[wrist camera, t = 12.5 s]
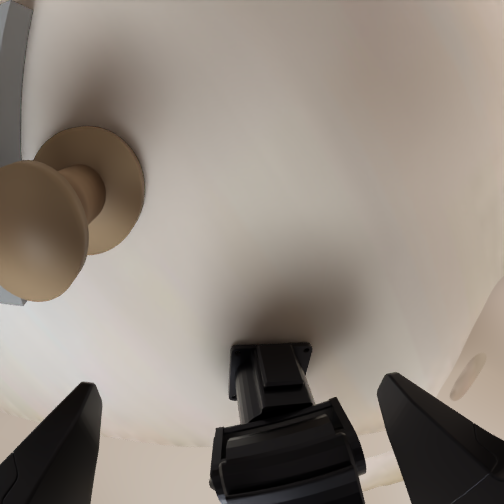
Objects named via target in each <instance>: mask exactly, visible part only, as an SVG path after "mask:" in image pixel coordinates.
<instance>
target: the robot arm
mask: <svg viewBox="0 0 504 504" xmlns="http://www.w3.org/2000/svg"><path fill="white" fill-rule="evenodd" d="M305 348H307V349H305ZM236 351H239V352H236ZM311 353H312V346H311V344H310V343H288V344H265V345H235V346H233V347H232V348H231V353H230V373H229V399H230V400H233V401H238V409H239V417H240V425H235V426H231V427H225V428H224V427H219V428H216V433H215V437H214V442H213V451H212V461H211V471H210V480H209V485H210V487H211V488H212V489H213V490H215V491H216V494H217V496H218V498H219V500H220V502H221V504H365V501H364V497H363V493H362V489H361V485H360V481H359V477H358V476H360V475H362V474H365V473H366V463H365V458H364V454H363V451H362V447H361V444H360V442H359V439H358V437H357V434H356V432H355V430H354V428H353V426H352V425H351V423H350V421H349V419H348V417H347V415H346V414H345V412H344V410H343V408H342V406H341V405H340V403H339V401H338V399H337V397H334V398H331V399H329V401H326V402H323V403H320V404H317V405H315V402H314V399H313V396H312V394H311V391H310V388H309V385H308V382H307V379H306V377H305V375H306V371H307V368H308V364H309V360H310V357H311ZM234 395H235V396H234ZM377 397H378V401H379V405H380V408H381V412H382V416H383V420H384V424H385V428H386V431H387V435H388V437H389V440H390V443H391V446H392V448H393V451H394V454H395V457H396V459H397V462H398V465H399V468H400V471H401V474H402V476H403V479H404V482H405V485H406V488H407V491H408V494H409V497H410V500H411V503H412V504H504V441H503V440H501V439H500V438H498V437H496V436H494V435H492V434H491V433H489V432H487V431H486V430H484V429H482V428H481V427H479V426H478V425H476V424H473V422H471V421H470V420H468V419H467V418H465V417H464V416H462V415H461V414H459V413H458V412H456V411H455V410H453V409H452V408H450V407H449V406H447V405H445V404H444V403H443V402H441V401H439V400H438V399H437V398H435V397H434V396H432V395H431V394H429V393H428V392H426V391H425V390H423V389H422V388H420V387H419V386H417V385H416V384H414V383H413V382H411V381H410V380H408V379H407V378H405V377H404V376H402V375H401V374H399V373H397V372H393V373H388V374H386V375H385V376H384V378H383V380H382V382H381V384H380V386H379V388H378V391H377ZM101 415H102V400H101V397H100V395H99V392H98V390H97V387H96V385H95V384H94V383H90V382H81V383H80V384H79V385H78V386H77V387H76V388H75V389H74V390H73V391H72V392H71V393H70V394H69V395H68V396H67V397H66V398H65V399H64V400H63V401H62V402H61V403H60V404H59V405H58V406H57V407H56V408H55V409H54V410H53V411H52V412H51V413H50V414H49V415H48V416H47V417H46V418H45V419H44V420H43V421H42V422H41V423H40V424H39V425H38V426H37V427H36V428H35V429H34V430H33V431H32V432H31V434H29V435H28V437H27V438H26V439H25V440H24V441H23V442H22V443H21V444H20V445H19V446H18V447H17V448H16V449H15V450H14V451H13V453H11V454H10V455H9V456H8V457H7V458H6V459H5V460H4V461H3V462H2V463H1V464H0V504H90V502H91V495H92V488H93V481H94V475H95V469H96V463H97V457H98V451H99V439H100V426H101Z"/></svg>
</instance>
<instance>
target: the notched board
mask: <svg viewBox="0 0 504 504" xmlns="http://www.w3.org/2000/svg"><path fill="white" fill-rule="evenodd" d="M32 13H33V10H32V9H30V8H27V7H25V6H23V5H21V4H19V3H17V2H14V1H12V0H9V1H7V2H5V3H2V4H0V168H1V167H3V166H6V165H9V164H11V163H14V162H18V161H21V139H20V118H21V93H22V79H23V69H24V60H25V52H26V45H27V39H28V33H29V28H30V22H31V18H32ZM26 302H27V300H25V299H22V298H19V297H17V296H15V295H13V294H11V293H10V292H8V291H7V290H5V289H4V288H3V287H2V286H1V285H0V303H2V304H10V305H18V306H24V304H25V303H26Z"/></svg>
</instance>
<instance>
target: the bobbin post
mask: <svg viewBox="0 0 504 504" xmlns="http://www.w3.org/2000/svg"><path fill="white" fill-rule="evenodd" d="M144 195H145V185H144V177H143V172H142V169H141V166H140V163H139V161H138V159H137V157H136V155H135V154H134V152H133V151H132V149H131V148H130V147H129V145H128V144H127V143H126V142H125V141H124V140H123V139H121V138H120V137H119V136H117V135H116V134H114V133H113V132H111V131H108V130H106V129H103V128H100V127H94V126H82V127H75V128H70V129H67V130H64V131H61V132H59V133H58V134H56V135H54V136H53V137H51V138H50V139H49V140H48V141H47V142H46V143H45V144H44V145H43V146H42V147H41V148H40V150H39V151H38V153H37V154H36V156H35V158H34V160H33V161H32V160H22V161H18V162H14V163H11V164H9V165H6V166H3V167H1V168H0V285H1V286H2V287H3V288H4V289H5V290H7V291H8V292H10V293H11V294H13V295H15V296H17V297H19V298H22V299H25V300H28V301H34V302H43V301H49V300H52V299H54V298H56V297H58V296H60V295H61V294H63V293H64V292H65V291H66V290H67V289H68V288H69V287H70V285H71V284H72V282H73V281H74V279H75V278H76V277H77V275H78V274H79V272H80V271H81V269H82V267H83V265H84V263H85V260H86V257H87V255H94V254H100V253H103V252H106V251H108V250H110V249H112V248H114V247H115V246H117V245H118V244H119V243H121V242H122V241H123V240H124V239H125V238H126V236H127V235H128V234H129V233H130V231H131V230H132V228H133V227H134V225H135V223H136V222H137V220H138V218H139V216H140V213H141V210H142V207H143V202H144Z"/></svg>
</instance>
